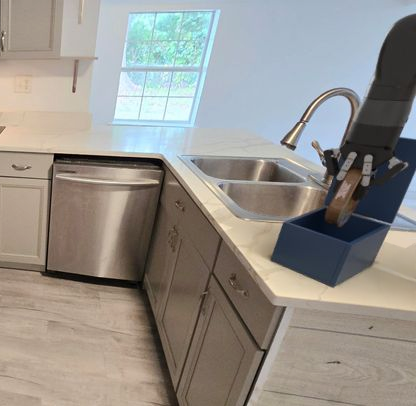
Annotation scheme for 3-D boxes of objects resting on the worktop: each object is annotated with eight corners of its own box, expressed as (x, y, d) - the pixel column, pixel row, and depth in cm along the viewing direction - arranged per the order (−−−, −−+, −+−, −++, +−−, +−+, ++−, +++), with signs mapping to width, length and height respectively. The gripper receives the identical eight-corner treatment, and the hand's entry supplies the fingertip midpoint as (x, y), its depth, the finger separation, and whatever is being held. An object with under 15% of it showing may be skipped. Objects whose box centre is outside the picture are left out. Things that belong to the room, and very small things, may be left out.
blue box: (333, 287, 80) (352, 245, 76) (269, 260, 91) (283, 222, 86) (372, 265, 88) (391, 225, 83) (309, 242, 98) (323, 206, 94)
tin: (342, 229, 85) (337, 225, 80) (325, 224, 87) (319, 219, 82) (377, 169, 82) (375, 160, 77) (359, 165, 85) (355, 156, 79)
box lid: (427, 141, 75) (439, 135, 77) (348, 130, 85) (361, 125, 87) (391, 224, 83) (403, 216, 85) (323, 204, 93) (335, 198, 95)
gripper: (327, 117, 80) (301, 191, 86) (420, 129, 68) (382, 212, 75) (344, 114, 83) (318, 185, 89) (436, 124, 71) (397, 205, 78)
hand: (347, 197), depth 82 cm, fingers closed on tin, 2 cm apart
